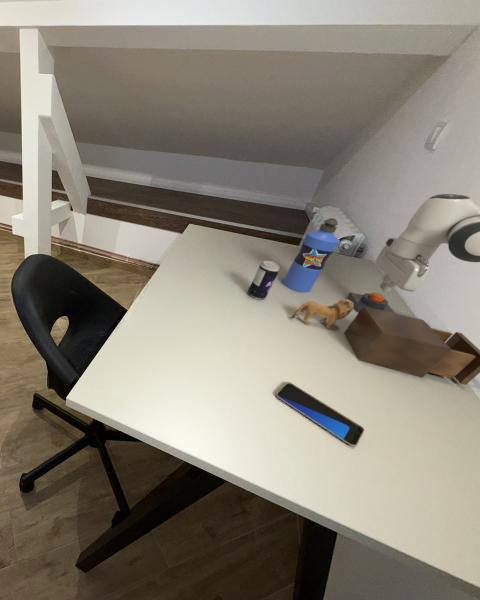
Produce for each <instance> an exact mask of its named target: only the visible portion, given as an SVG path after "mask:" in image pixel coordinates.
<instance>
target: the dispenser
mask: <svg viewBox="0 0 480 600" xmlns="http://www.w3.org/2000/svg"><path fill="white" fill-rule="evenodd" d="M431 328H432V327H431V326H430V325H429V324H428V323H427V322H426V321H425V320H424V319H422V318H417V317H412V316H409V315H404V314H400V313H396V312H395V313H391V312H387V311H383V310H379V309H374V308H370V307H366V306H363V307H362V309H361V310H360V312H359V313H358V312H357V314H356V316H355V317H354V319H353V320H352V321H351V323H350V324H349V325H348V327H347V328H346V330H344V335H345V337H346V339H347V341H348V342H349V344H350V346H351V348H352V350H353V351H354V353H355V355H356V357H357V359H358V361H360V362H364V363H368V364H372V365H375V366H378V367H382V368H386V369H389V370H394V371H396V372H400V373H404V374H407V375H412V376H415V377H419V378H424V377H425V376H426V375H427V374H428V373H430V372H429V371H430V370H431V369H432V368H433V367H434V366H435V365H436V364H437V363H438V362H439V361H440V360H441V359H442V358H443V357H444V356H445V355H446V354H447V353H448V352H449V351H450V350H451V348H450V347H449V346H448V345H447V344H446V341H445V342H444V341H443V340H442V339H441V338H440V337H439V336H438V335H437V334H436V333H435V332H434V331H433V330H432V329H431Z"/></svg>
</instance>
